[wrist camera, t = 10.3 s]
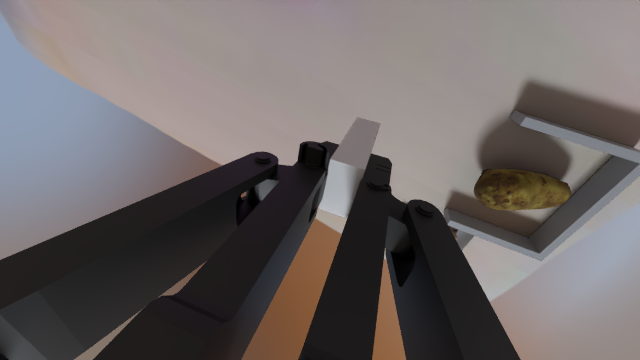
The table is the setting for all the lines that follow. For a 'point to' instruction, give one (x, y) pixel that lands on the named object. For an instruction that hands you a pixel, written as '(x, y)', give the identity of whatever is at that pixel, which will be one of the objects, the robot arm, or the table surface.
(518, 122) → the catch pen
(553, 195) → the potato
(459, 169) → the table surface
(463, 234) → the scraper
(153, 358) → the robot arm
